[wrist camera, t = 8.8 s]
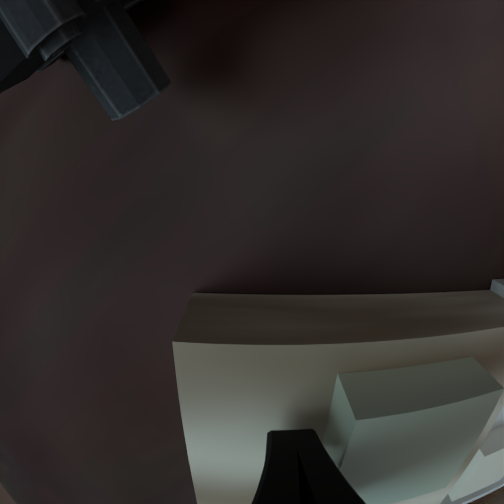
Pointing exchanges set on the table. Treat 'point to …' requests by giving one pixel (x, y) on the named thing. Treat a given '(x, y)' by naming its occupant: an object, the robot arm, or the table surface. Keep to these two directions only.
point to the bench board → (309, 368)
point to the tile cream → (482, 466)
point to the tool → (81, 48)
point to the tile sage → (407, 426)
